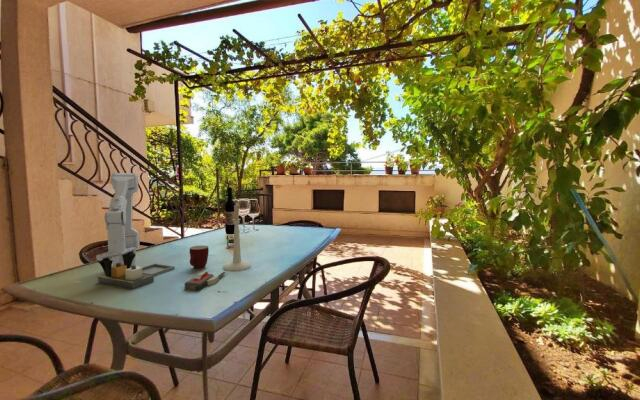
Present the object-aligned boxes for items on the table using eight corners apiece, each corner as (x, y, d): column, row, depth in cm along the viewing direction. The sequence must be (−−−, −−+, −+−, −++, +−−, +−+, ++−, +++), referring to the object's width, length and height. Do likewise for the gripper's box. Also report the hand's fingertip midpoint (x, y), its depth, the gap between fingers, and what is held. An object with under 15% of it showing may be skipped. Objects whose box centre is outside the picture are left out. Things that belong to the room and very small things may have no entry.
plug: (110, 281, 119) (109, 264, 119) (120, 278, 123) (119, 261, 122) (117, 283, 118) (116, 265, 117) (127, 279, 121) (126, 262, 121)
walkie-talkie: (203, 292, 111) (227, 275, 131) (203, 281, 111) (227, 265, 130) (181, 291, 112) (208, 274, 132) (181, 280, 112) (208, 264, 131)
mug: (201, 273, 132) (201, 251, 131) (184, 272, 133) (183, 250, 132) (211, 266, 143) (211, 245, 142) (195, 265, 143) (194, 245, 142)
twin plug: (125, 284, 116) (125, 266, 116) (135, 281, 120) (134, 263, 119) (133, 286, 115) (132, 267, 114) (142, 282, 118) (142, 264, 118)
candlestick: (256, 265, 145) (255, 203, 143) (238, 272, 133) (237, 205, 131) (236, 261, 150) (235, 202, 148) (217, 268, 139) (215, 204, 137)
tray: (131, 274, 129) (130, 270, 129) (155, 267, 140) (155, 263, 140) (151, 278, 125) (151, 274, 125) (174, 270, 136) (174, 266, 136)
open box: (98, 283, 118) (98, 276, 118) (120, 276, 126) (120, 269, 126) (132, 290, 111) (132, 282, 111) (153, 282, 120) (153, 275, 119)
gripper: (104, 245, 111) (106, 280, 112) (140, 237, 125) (141, 269, 126) (92, 243, 114) (93, 278, 115) (128, 236, 127) (129, 267, 128)
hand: (118, 273), depth 120 cm, fingers open, 7 cm apart
